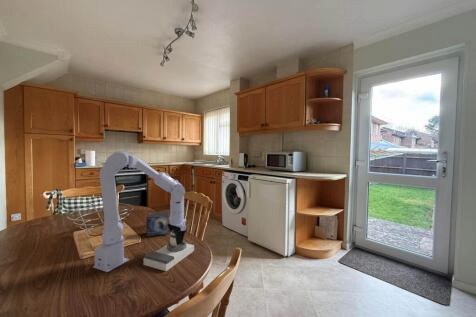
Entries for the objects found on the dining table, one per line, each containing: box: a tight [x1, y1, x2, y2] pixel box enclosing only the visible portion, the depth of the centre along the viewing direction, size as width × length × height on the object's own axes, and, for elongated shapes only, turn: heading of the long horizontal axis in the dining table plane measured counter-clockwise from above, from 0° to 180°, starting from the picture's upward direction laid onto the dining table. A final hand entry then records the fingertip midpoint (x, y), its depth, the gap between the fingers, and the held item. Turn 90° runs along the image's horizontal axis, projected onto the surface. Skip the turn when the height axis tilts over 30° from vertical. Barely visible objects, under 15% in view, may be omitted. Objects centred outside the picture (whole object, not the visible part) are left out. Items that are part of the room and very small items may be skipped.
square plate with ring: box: [143, 240, 195, 272], centre depth 89 cm, size 18×11×4 cm, turn 157°
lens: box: [169, 231, 182, 247], centre depth 93 cm, size 5×5×6 cm
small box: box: [145, 212, 169, 238], centre depth 114 cm, size 11×6×10 cm, turn 105°
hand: (176, 242), depth 93 cm, fingers closed on lens, 5 cm apart
